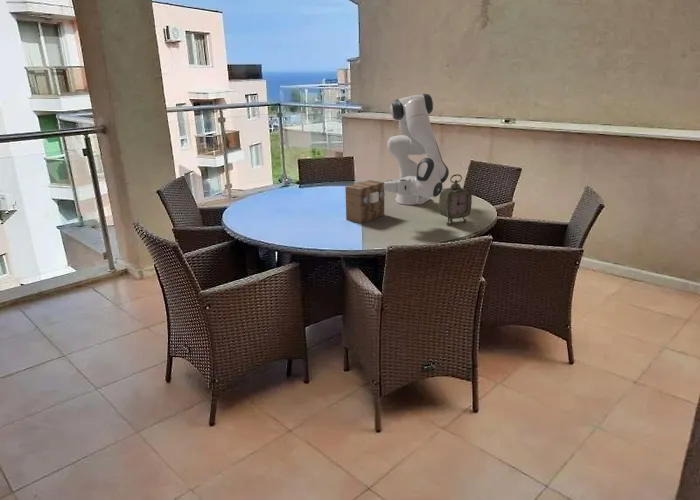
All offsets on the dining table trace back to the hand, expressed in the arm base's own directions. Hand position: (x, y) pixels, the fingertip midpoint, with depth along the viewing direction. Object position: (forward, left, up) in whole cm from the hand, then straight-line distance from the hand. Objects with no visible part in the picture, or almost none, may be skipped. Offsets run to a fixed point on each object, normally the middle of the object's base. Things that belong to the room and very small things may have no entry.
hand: (387, 181), depth 244 cm
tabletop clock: (-20, +27, -22) cm, 40 cm away
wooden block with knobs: (0, -14, -21) cm, 26 cm away
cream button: (0, -10, -12) cm, 16 cm away
